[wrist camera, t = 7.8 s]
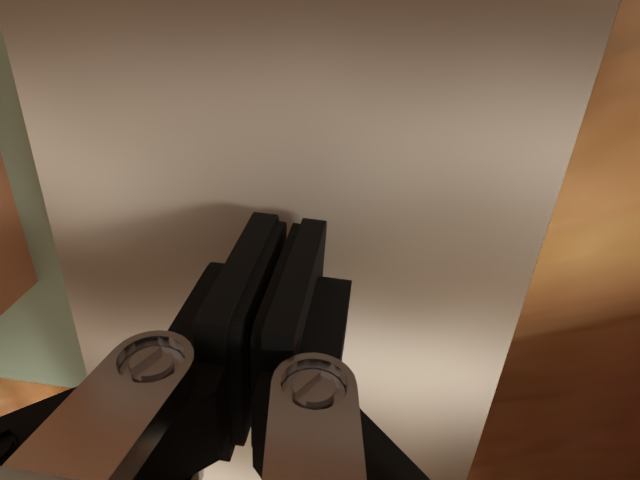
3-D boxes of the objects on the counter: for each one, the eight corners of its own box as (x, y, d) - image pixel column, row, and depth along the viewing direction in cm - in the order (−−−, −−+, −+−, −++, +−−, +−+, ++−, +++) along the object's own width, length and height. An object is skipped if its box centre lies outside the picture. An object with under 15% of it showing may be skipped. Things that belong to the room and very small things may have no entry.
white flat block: (61, -232, 11) (-84, -314, 8) (610, -215, 10) (717, -301, 7) (157, 392, 21) (112, 476, 18) (441, 433, 20) (450, 530, 17)
